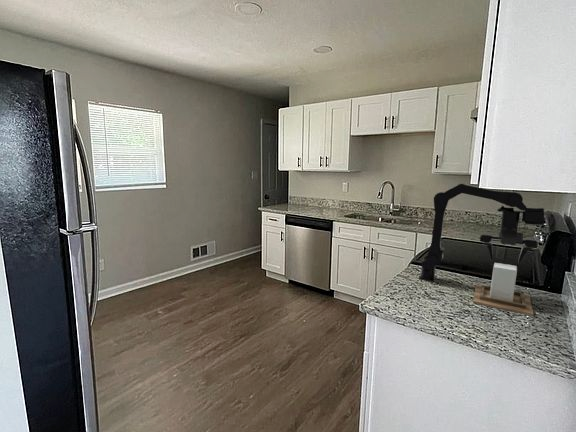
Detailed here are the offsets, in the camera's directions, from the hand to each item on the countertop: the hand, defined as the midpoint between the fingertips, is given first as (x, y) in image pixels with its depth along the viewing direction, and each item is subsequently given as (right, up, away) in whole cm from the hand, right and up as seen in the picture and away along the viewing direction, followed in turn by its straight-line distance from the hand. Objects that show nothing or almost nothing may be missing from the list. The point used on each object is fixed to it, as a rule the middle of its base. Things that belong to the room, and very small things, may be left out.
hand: (505, 260), depth 127 cm
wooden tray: (-6, -14, -6) cm, 16 cm away
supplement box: (-6, -14, -6) cm, 16 cm away
